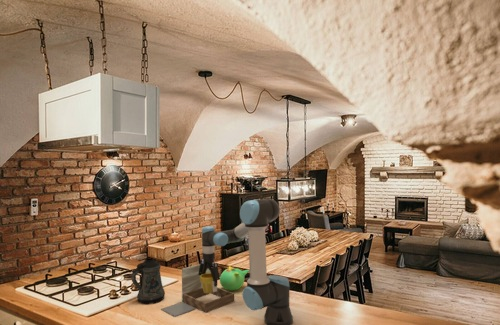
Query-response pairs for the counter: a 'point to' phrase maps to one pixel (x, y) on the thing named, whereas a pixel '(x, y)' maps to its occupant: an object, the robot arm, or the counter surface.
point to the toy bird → (232, 278)
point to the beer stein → (149, 282)
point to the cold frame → (201, 291)
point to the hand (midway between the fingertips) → (209, 289)
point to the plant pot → (207, 282)
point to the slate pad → (178, 309)
